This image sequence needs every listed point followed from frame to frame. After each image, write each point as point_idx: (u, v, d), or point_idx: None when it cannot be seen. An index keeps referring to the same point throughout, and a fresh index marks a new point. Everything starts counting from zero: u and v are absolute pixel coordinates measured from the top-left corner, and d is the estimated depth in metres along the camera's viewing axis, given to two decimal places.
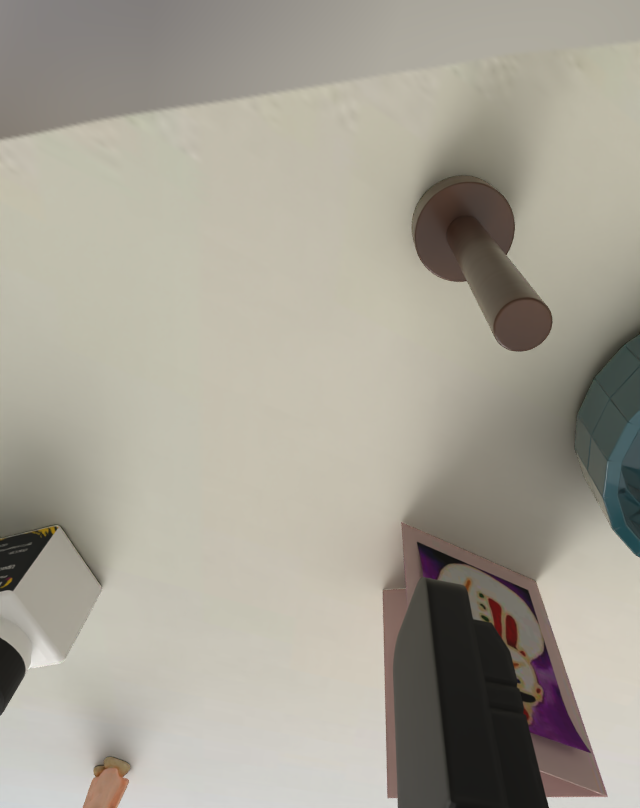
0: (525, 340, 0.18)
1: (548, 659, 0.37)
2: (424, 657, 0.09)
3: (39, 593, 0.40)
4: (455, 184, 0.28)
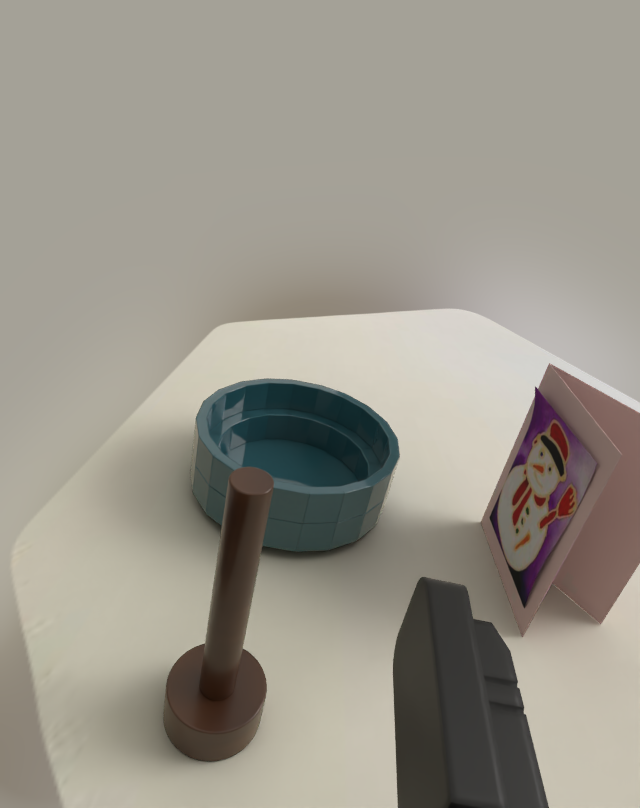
0: (261, 476, 0.23)
1: (515, 460, 0.44)
2: (424, 657, 0.09)
3: None
4: (173, 711, 0.28)
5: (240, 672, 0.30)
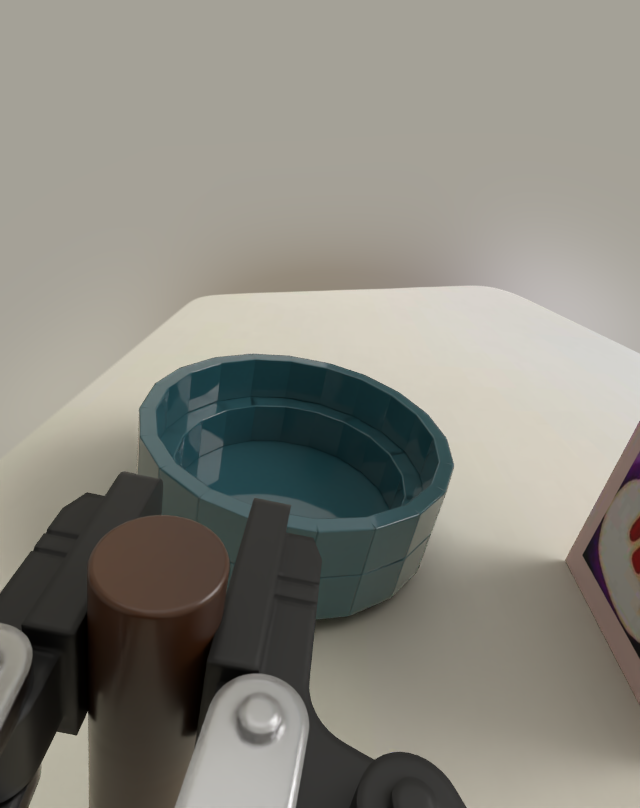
0: (194, 544, 0.08)
1: (631, 471, 0.29)
2: None
3: None
4: None
5: None
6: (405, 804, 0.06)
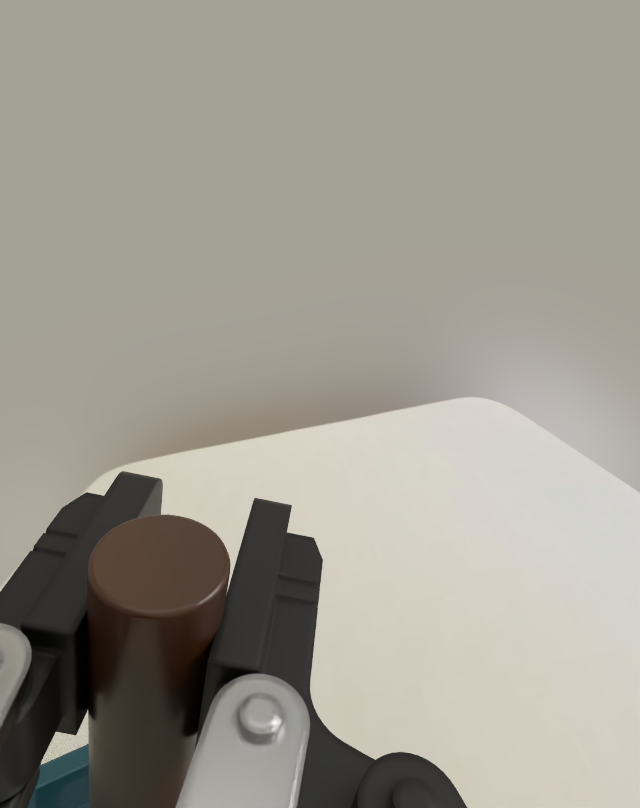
0: (194, 544, 0.08)
1: None
2: None
3: None
4: None
5: None
6: (406, 804, 0.06)
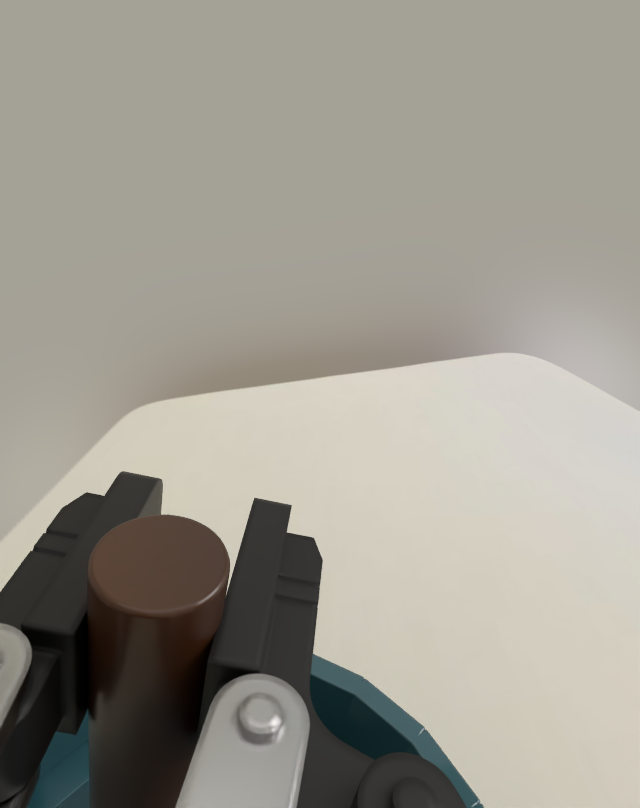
0: (194, 544, 0.08)
1: None
2: None
3: None
4: None
5: None
6: (406, 805, 0.06)
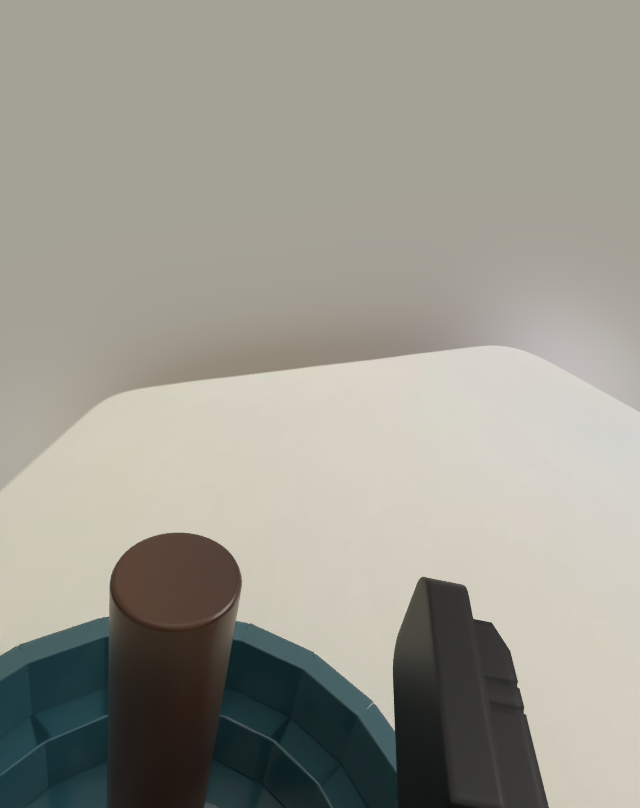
0: (207, 561, 0.08)
1: None
2: (424, 657, 0.09)
3: None
4: None
5: None
6: None
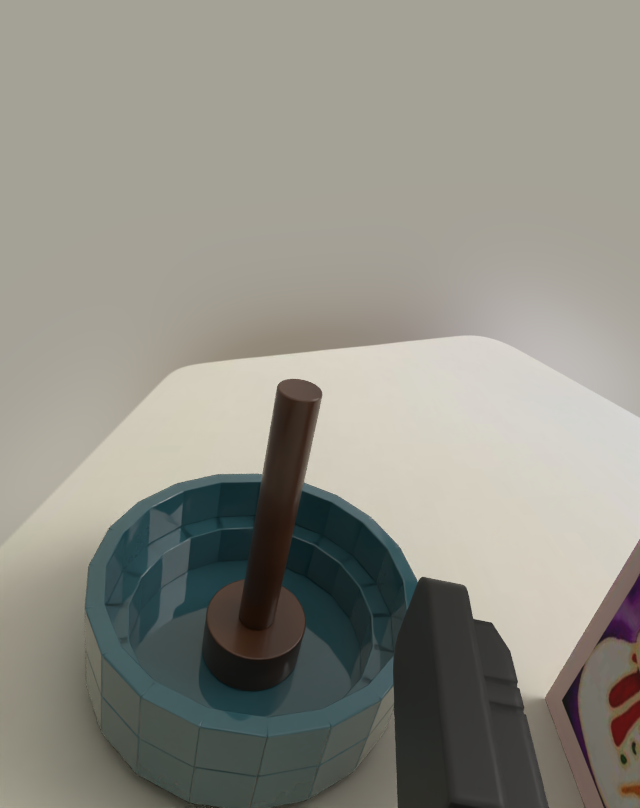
0: (309, 386, 0.23)
1: (610, 625, 0.27)
2: (424, 657, 0.09)
3: None
4: (215, 639, 0.27)
5: (279, 605, 0.30)
6: None
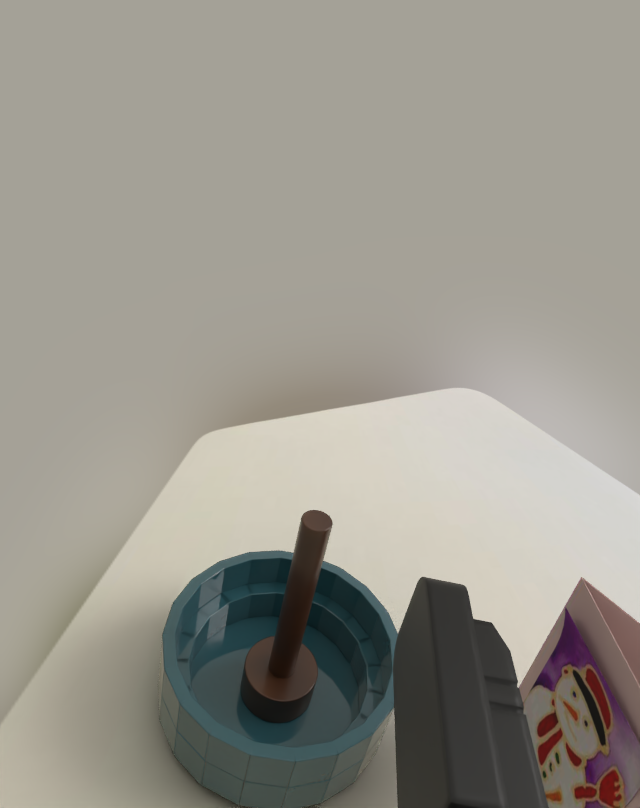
0: (323, 517, 0.33)
1: (540, 676, 0.37)
2: (424, 657, 0.09)
3: None
4: (252, 686, 0.38)
5: (297, 658, 0.40)
6: None
